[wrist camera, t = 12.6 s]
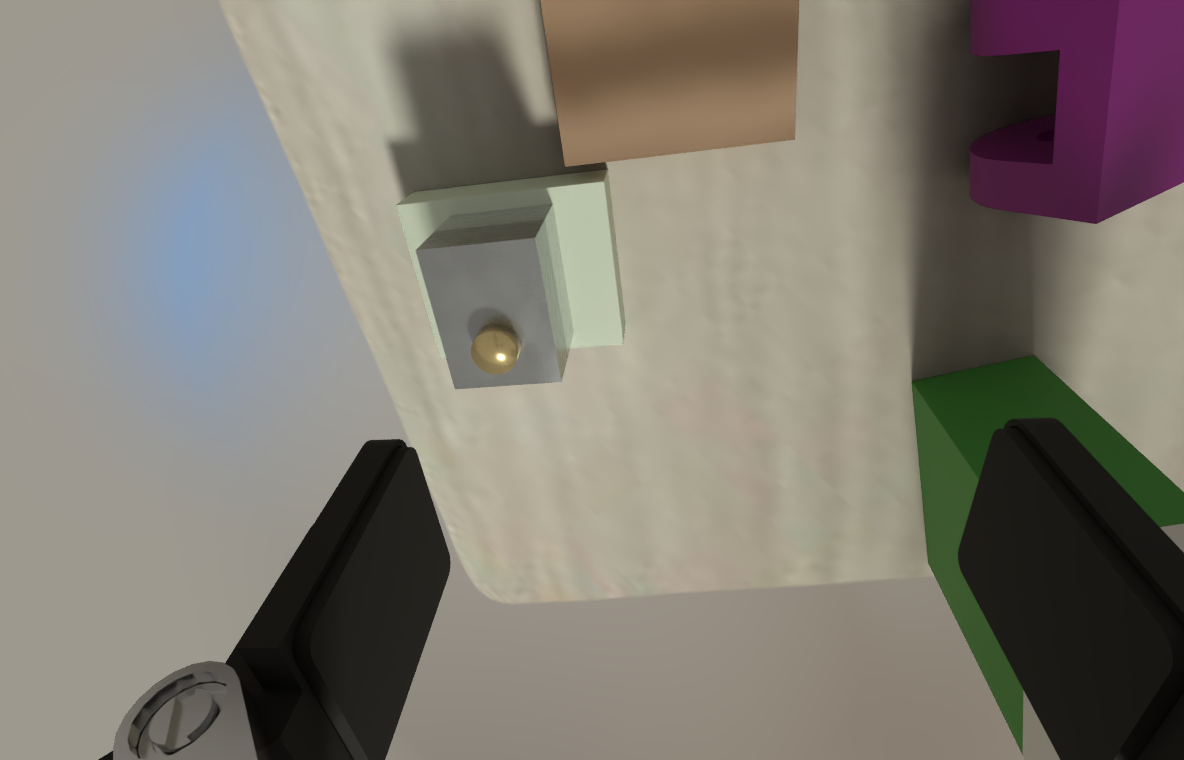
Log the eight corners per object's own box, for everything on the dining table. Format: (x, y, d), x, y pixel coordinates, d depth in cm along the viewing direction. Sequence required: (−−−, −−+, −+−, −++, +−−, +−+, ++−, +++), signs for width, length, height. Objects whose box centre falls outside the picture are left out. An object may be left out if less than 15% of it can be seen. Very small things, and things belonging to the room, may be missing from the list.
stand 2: (542, -52, 31) (531, -57, 28) (789, -94, 29) (802, -104, 27) (571, 155, 36) (565, 166, 33) (784, 129, 34) (794, 139, 32)
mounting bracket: (1205, -95, 33) (930, 5, 29) (1451, -155, 25) (1122, -30, 22) (1175, 95, 37) (934, 200, 34) (1378, 90, 30) (1095, 224, 26)
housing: (450, 215, 35) (408, 257, 29) (552, 203, 35) (531, 244, 29) (481, 339, 39) (449, 398, 33) (574, 332, 39) (558, 391, 33)
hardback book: (1030, 547, 48) (1309, 948, 28) (928, 562, 50) (1118, 950, 29) (1034, 355, 40) (1434, 721, 19) (911, 381, 42) (1159, 743, 21)
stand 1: (413, 192, 38) (395, 205, 35) (607, 169, 36) (603, 181, 34) (453, 337, 43) (440, 358, 40) (625, 323, 41) (623, 344, 39)
